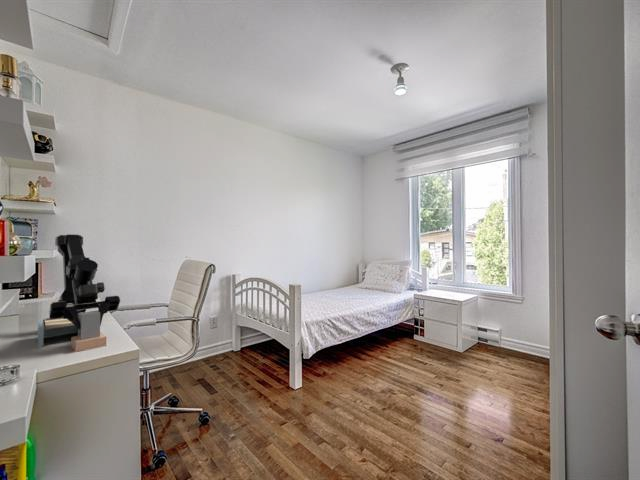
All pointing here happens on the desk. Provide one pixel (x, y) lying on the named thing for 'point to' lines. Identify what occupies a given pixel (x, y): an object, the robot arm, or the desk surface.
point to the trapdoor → (57, 323)
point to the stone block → (88, 343)
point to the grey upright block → (89, 325)
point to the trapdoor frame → (52, 331)
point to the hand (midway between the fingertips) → (90, 326)
